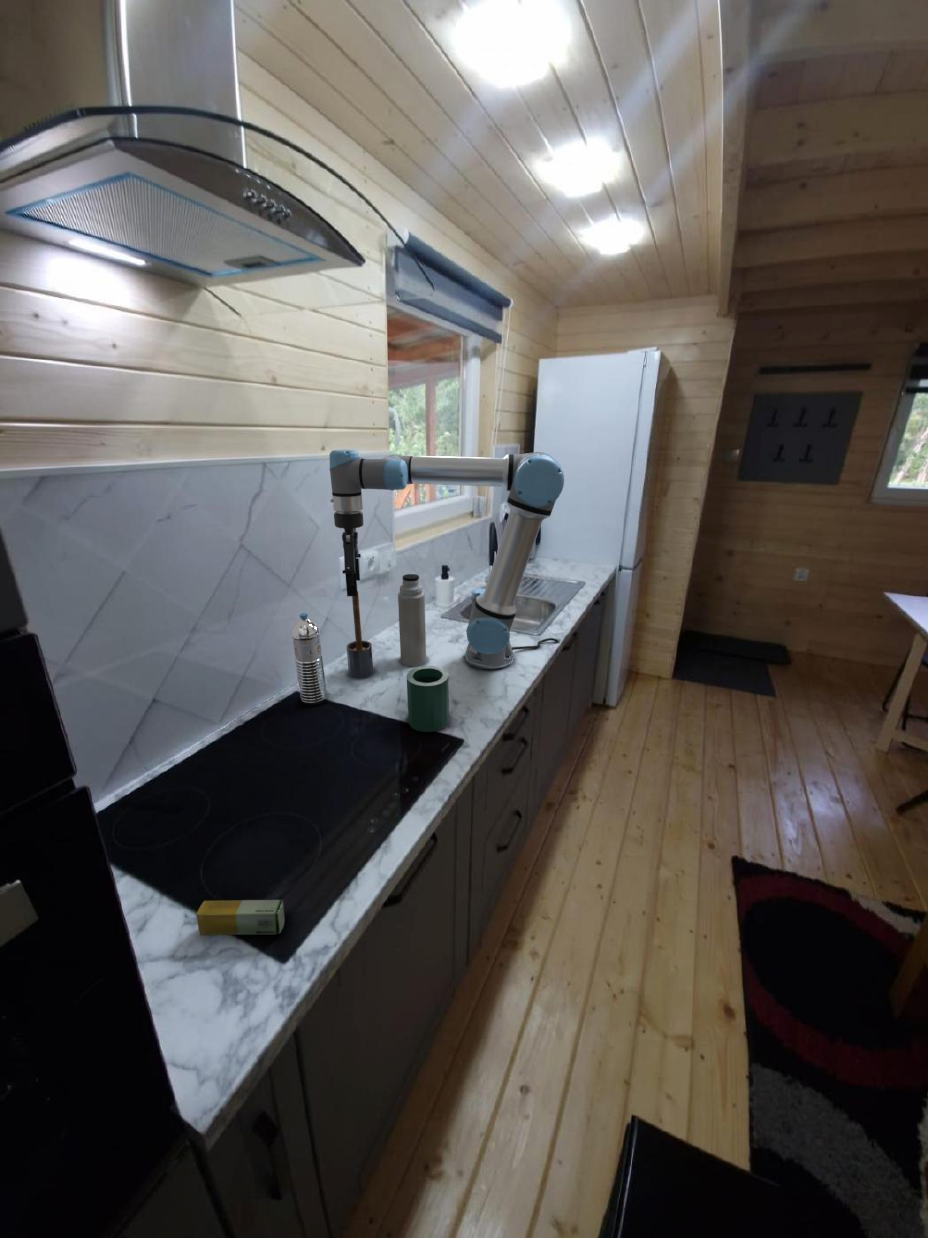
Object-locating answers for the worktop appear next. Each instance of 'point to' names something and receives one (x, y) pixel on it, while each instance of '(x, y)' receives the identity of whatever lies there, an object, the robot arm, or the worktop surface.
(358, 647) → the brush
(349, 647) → the holder
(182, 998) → the worktop surface
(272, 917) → the medication box
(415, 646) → the thermos bottle
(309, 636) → the water bottle
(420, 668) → the jar
